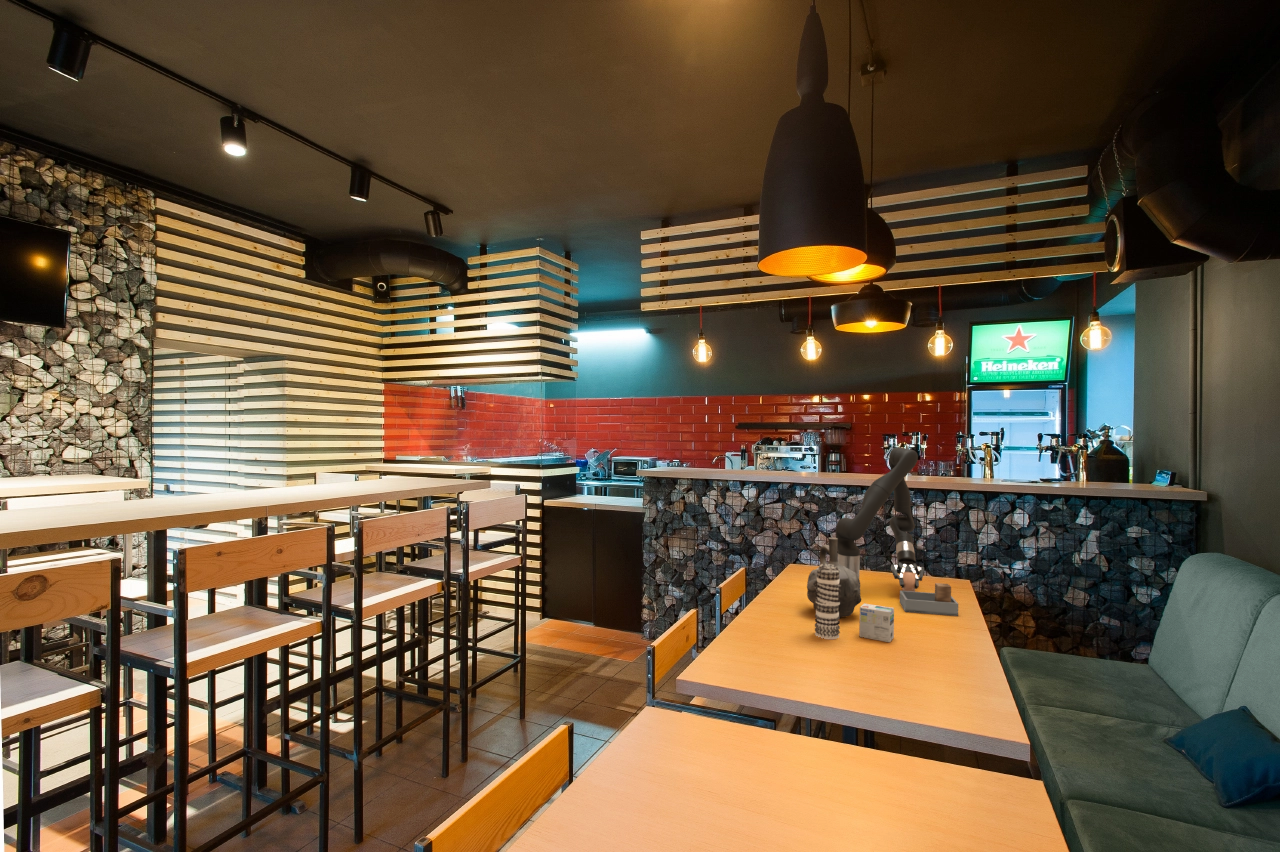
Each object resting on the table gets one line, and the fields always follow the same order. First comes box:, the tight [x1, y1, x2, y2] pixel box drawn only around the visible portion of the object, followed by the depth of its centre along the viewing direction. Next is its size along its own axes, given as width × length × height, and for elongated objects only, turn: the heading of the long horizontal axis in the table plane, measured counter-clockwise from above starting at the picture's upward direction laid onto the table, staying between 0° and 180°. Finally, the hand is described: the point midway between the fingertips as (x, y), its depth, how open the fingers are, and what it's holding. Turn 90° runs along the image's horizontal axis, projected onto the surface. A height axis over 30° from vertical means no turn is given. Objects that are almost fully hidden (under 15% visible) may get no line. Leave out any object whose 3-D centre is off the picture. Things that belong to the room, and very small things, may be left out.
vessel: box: [806, 537, 862, 618], centre depth 257 cm, size 24×22×30 cm
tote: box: [899, 590, 959, 617], centre depth 265 cm, size 20×15×5 cm
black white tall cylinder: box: [814, 563, 841, 640], centre depth 229 cm, size 9×9×25 cm
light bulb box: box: [858, 602, 895, 643], centre depth 228 cm, size 11×7×11 cm, turn 58°
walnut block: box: [934, 582, 952, 603], centre depth 261 cm, size 5×5×10 cm
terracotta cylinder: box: [901, 572, 916, 592], centre depth 279 cm, size 5×5×10 cm
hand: (909, 587), depth 277 cm, fingers closed on terracotta cylinder, 5 cm apart
